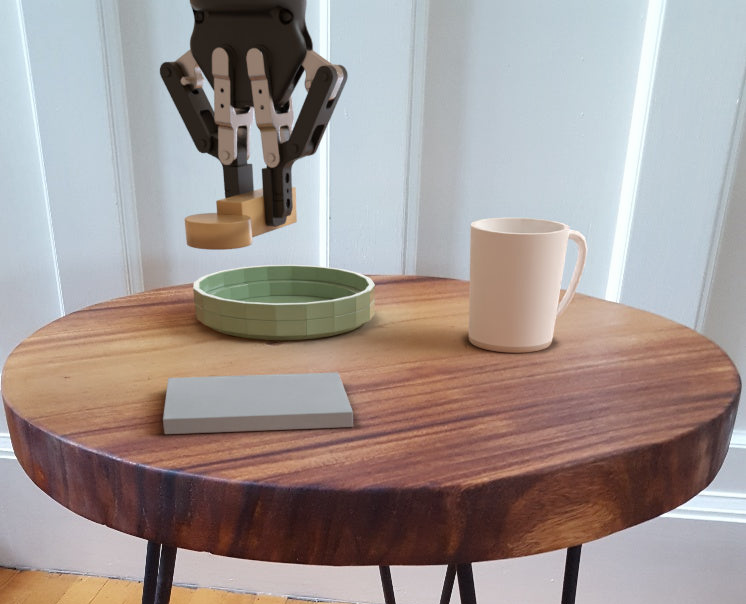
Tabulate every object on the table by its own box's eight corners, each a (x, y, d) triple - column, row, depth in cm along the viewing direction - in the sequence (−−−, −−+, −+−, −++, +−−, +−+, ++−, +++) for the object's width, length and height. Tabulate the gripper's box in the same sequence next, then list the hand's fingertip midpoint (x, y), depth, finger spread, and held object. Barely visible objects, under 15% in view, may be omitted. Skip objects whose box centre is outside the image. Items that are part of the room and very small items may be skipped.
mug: (472, 355, 88) (480, 234, 82) (456, 330, 96) (462, 217, 90) (588, 353, 89) (604, 233, 83) (563, 328, 97) (577, 217, 91)
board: (164, 434, 70) (162, 419, 70) (169, 392, 78) (167, 377, 78) (353, 427, 72) (353, 411, 71) (338, 386, 80) (338, 372, 80)
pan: (195, 345, 90) (191, 306, 88) (197, 300, 105) (194, 266, 103) (385, 339, 92) (386, 302, 90) (361, 296, 107) (361, 263, 105)
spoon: (232, 251, 62) (229, 211, 61) (174, 246, 63) (170, 207, 62) (311, 223, 72) (310, 188, 70) (259, 219, 73) (257, 184, 72)
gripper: (114, -83, 59) (149, 225, 68) (319, -90, 54) (326, 239, 64) (179, -72, 64) (203, 210, 74) (369, -78, 60) (368, 222, 70)
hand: (260, 222), depth 69 cm, fingers closed on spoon, 2 cm apart
